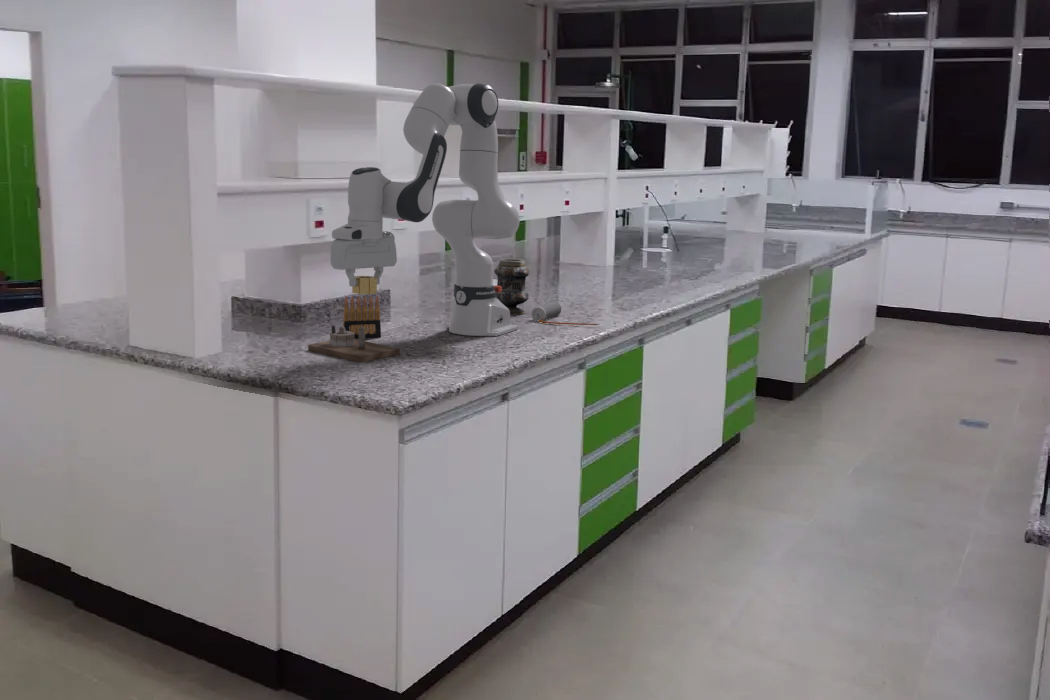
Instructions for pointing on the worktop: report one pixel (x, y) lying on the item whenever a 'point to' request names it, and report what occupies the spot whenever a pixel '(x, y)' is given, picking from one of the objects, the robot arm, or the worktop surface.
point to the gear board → (352, 346)
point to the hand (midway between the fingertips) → (364, 285)
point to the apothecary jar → (512, 283)
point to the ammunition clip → (362, 317)
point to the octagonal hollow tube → (365, 285)
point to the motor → (549, 313)
